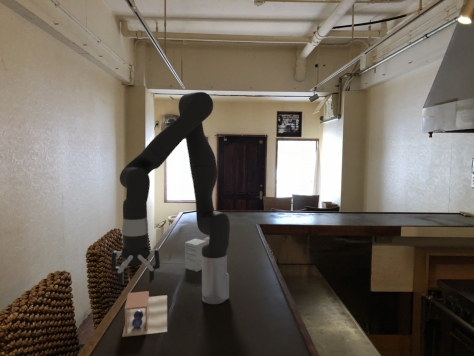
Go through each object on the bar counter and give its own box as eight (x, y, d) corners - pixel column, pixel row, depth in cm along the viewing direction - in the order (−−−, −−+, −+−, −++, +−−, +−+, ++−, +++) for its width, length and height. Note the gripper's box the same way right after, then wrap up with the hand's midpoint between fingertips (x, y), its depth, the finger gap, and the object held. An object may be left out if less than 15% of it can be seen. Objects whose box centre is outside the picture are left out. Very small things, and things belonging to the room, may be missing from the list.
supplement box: (195, 263, 156) (195, 238, 154) (207, 267, 151) (207, 240, 150) (184, 268, 150) (184, 241, 148) (196, 272, 145) (196, 244, 144)
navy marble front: (140, 323, 102) (140, 314, 102) (143, 328, 100) (143, 318, 99) (131, 326, 101) (130, 317, 100) (133, 331, 98) (133, 321, 98)
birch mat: (130, 301, 119) (130, 298, 119) (167, 297, 121) (167, 295, 121) (122, 340, 95) (122, 336, 95) (167, 334, 98) (167, 331, 98)
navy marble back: (141, 316, 107) (141, 307, 106) (144, 320, 104) (144, 311, 104) (132, 318, 105) (132, 310, 105) (135, 323, 102) (134, 314, 102)
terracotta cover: (129, 316, 107) (128, 293, 106) (149, 314, 108) (148, 291, 107) (125, 333, 97) (124, 308, 96) (147, 331, 98) (146, 306, 97)
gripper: (159, 227, 104) (160, 276, 106) (112, 229, 101) (114, 279, 103) (159, 234, 97) (159, 285, 99) (108, 236, 94) (110, 289, 96)
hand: (136, 282), depth 101 cm, fingers open, 8 cm apart
